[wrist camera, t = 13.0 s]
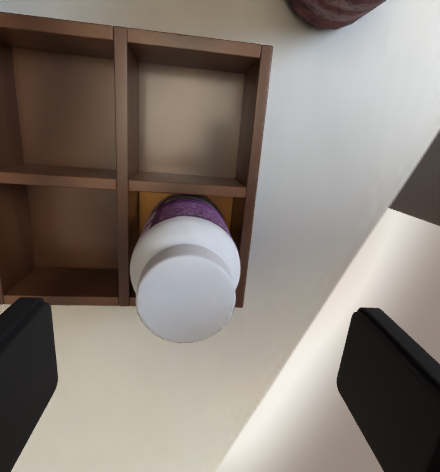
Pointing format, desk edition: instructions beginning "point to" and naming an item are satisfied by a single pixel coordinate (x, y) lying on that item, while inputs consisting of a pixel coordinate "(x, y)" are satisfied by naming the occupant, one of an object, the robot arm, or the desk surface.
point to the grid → (117, 148)
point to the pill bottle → (185, 270)
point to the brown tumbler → (333, 11)
